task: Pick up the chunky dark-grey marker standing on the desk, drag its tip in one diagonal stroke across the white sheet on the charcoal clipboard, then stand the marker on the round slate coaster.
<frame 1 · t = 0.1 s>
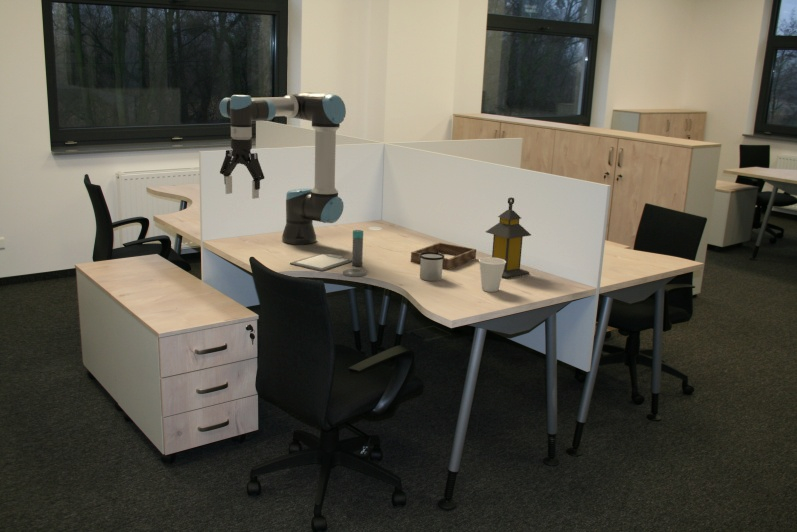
hand: (242, 195, 278), 28 cm above the table, fingers open, 13 cm apart
cup: (490, 290, 272), on the table
lantern: (505, 272, 296), on the table
mug: (432, 278, 284), on the table
coaster: (354, 273, 285), on the table
wooden frame: (443, 260, 310), on the table
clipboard: (321, 262, 298), on the table
marker: (357, 265, 296), on the table
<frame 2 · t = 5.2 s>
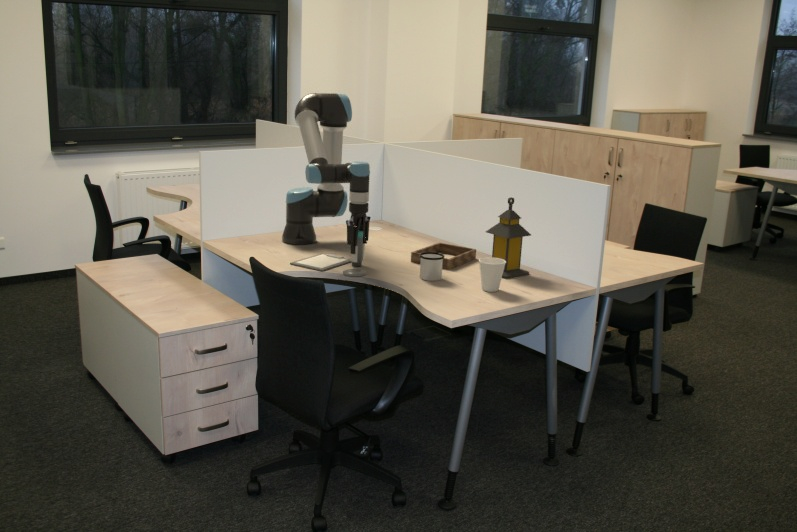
hand: (357, 260, 295), 2 cm above the table, fingers closed on marker, 4 cm apart
marker: (356, 265, 296), on the table, touching gripper
everything else where it was.
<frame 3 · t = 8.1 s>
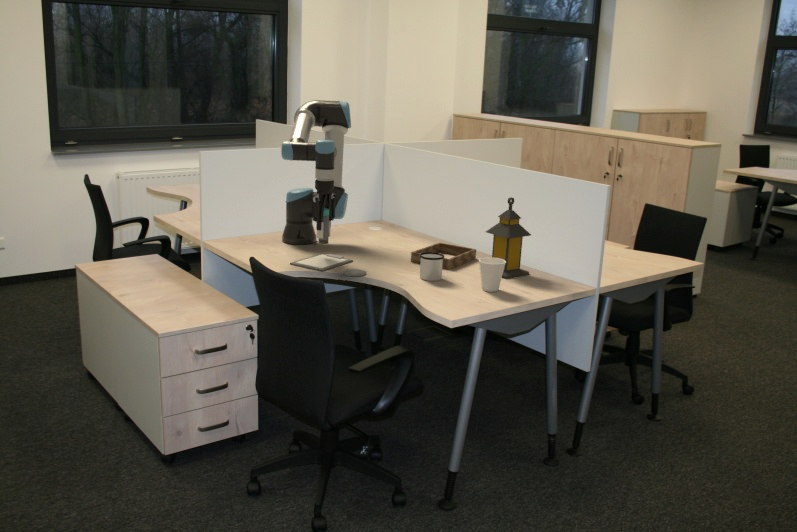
hand: (323, 236, 302), 9 cm above the table, fingers closed on marker, 4 cm apart
marker: (323, 242, 303), point 7 cm above the table, touching gripper
everything else where it was.
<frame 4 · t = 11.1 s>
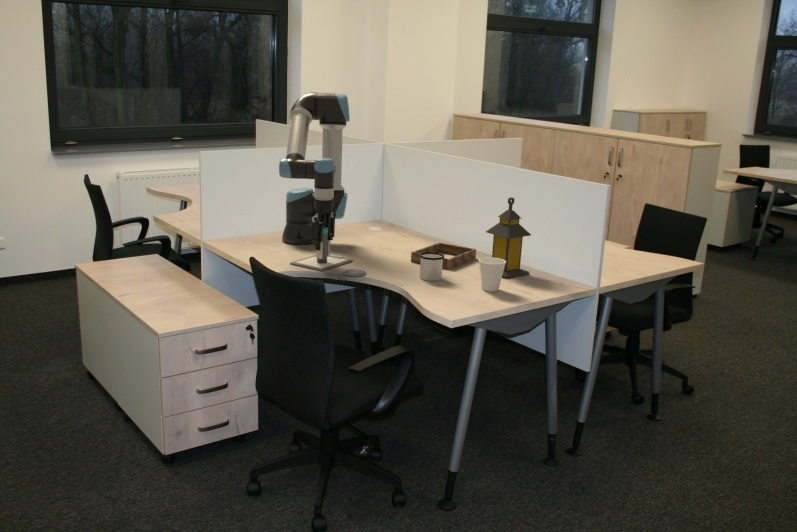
hand: (322, 257, 295), 3 cm above the table, fingers closed on marker, 4 cm apart
marker: (321, 262, 295), point 1 cm above the table, touching gripper
everything else where it was.
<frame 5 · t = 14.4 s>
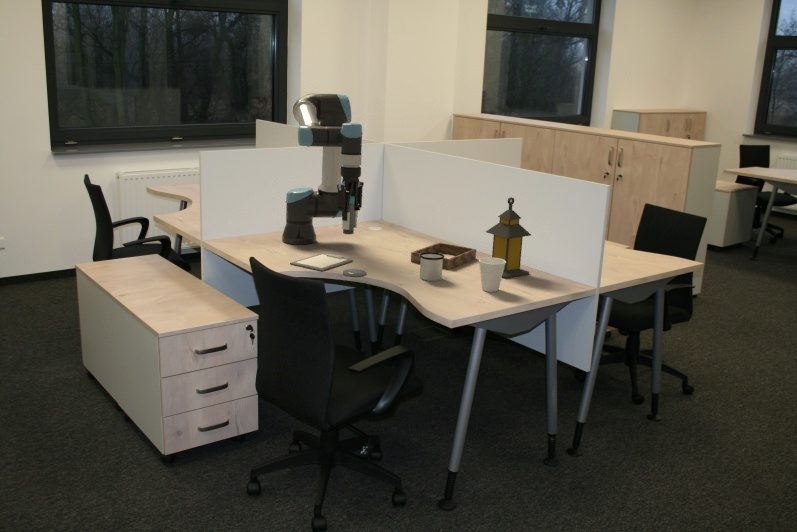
hand: (349, 228, 281), 18 cm above the table, fingers closed on marker, 4 cm apart
marker: (348, 233, 281), point 16 cm above the table, touching gripper
everything else where it was.
when the fingers open (4 cm above the table, at t = 17.1 s): marker drops 2 cm, resting on coaster.
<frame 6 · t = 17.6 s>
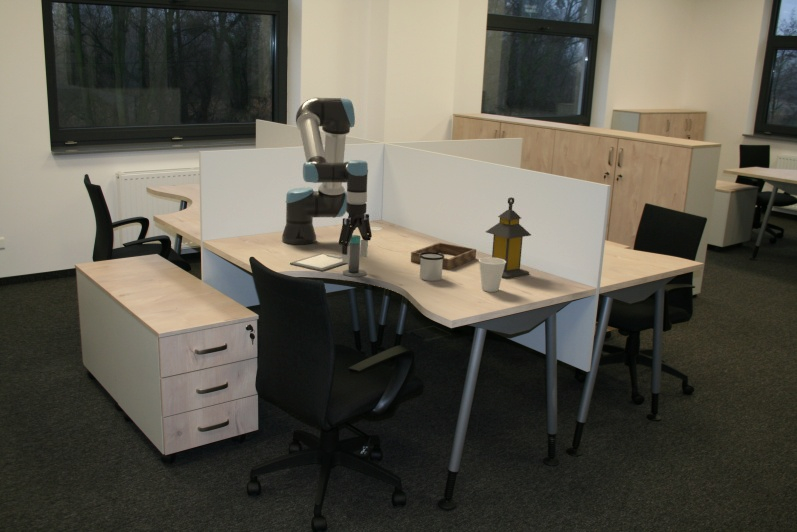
hand: (354, 259, 283), 5 cm above the table, fingers open, 11 cm apart
marker: (353, 271, 285), point 1 cm above the table, touching coaster
everything else where it was.
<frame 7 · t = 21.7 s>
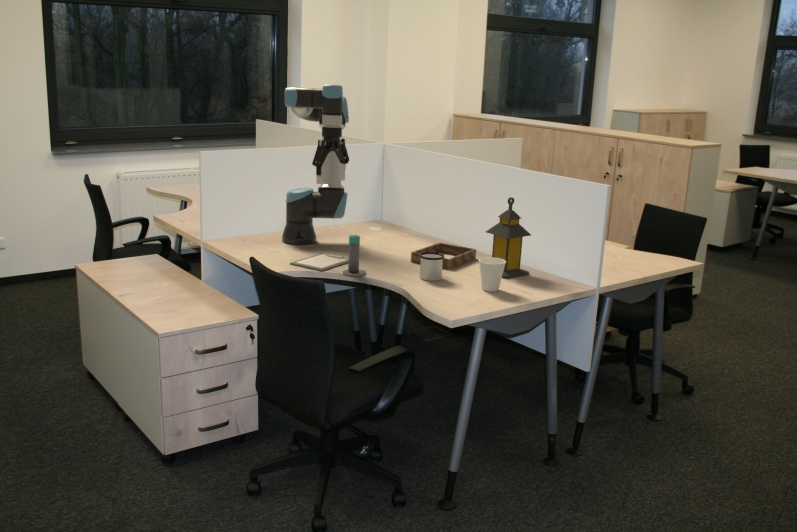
hand: (330, 182, 289), 33 cm above the table, fingers open, 13 cm apart
nothing on the table moved.
at the end: marker 0.5 cm from the coaster (horizontally); marker tilted 0°; the gripper is holding nothing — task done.
